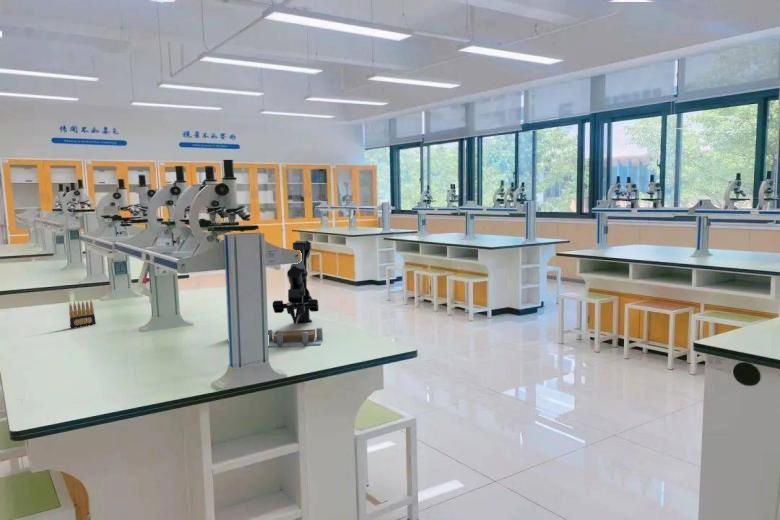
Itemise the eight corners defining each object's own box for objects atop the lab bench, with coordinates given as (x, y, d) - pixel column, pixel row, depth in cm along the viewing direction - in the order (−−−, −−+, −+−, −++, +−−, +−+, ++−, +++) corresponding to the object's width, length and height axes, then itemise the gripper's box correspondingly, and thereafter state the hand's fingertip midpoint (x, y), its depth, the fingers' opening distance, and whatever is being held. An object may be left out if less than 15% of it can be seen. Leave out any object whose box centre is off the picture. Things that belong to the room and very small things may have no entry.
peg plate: (267, 340, 239) (267, 328, 238) (323, 338, 239) (322, 326, 239) (263, 347, 228) (262, 335, 228) (321, 345, 229) (320, 332, 229)
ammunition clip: (70, 328, 270) (68, 303, 268) (70, 328, 271) (67, 302, 269) (95, 324, 276) (93, 300, 275) (95, 324, 278) (92, 299, 276)
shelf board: (276, 330, 239) (273, 335, 232) (315, 329, 240) (313, 334, 232) (276, 337, 240) (273, 343, 232) (315, 336, 240) (313, 341, 233)
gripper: (271, 281, 241) (269, 313, 231) (316, 280, 242) (315, 311, 232) (275, 296, 250) (273, 327, 240) (319, 295, 250) (318, 326, 241)
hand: (294, 323), depth 238 cm, fingers closed
